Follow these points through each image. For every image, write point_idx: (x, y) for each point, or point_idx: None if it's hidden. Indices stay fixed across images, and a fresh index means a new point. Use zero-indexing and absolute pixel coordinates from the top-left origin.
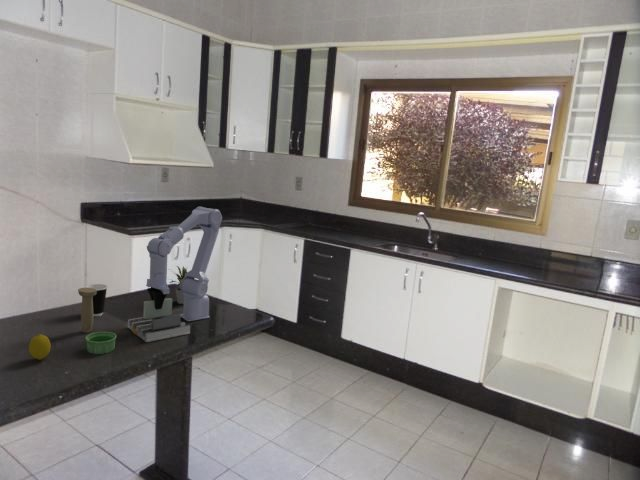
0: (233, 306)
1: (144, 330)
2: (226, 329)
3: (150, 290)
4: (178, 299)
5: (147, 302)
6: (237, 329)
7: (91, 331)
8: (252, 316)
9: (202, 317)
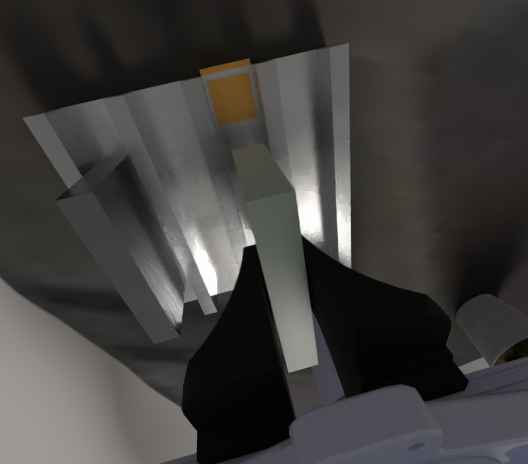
0: None
1: (111, 117)
2: None
3: (355, 337)
4: (489, 306)
5: (251, 220)
6: (180, 403)
7: None
8: None
9: None
